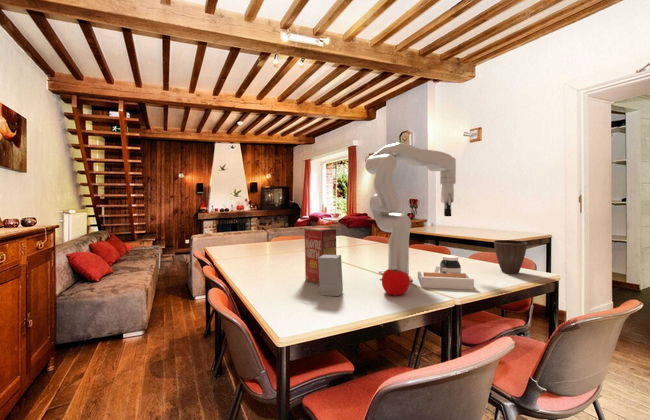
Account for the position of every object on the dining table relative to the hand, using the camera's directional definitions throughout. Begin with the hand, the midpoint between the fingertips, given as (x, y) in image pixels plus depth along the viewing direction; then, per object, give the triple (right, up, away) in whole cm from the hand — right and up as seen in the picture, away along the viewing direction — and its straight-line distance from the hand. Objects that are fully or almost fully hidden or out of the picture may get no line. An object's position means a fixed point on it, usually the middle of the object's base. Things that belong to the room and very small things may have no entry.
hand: (447, 216), depth 169 cm
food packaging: (-66, -31, -18) cm, 75 cm away
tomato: (-36, -31, -38) cm, 61 cm away
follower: (-11, -30, -24) cm, 40 cm away
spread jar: (-8, -30, -18) cm, 36 cm away
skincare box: (-62, -31, -38) cm, 79 cm away
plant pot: (+31, -29, -3) cm, 43 cm away
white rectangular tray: (-10, -30, -23) cm, 39 cm away
